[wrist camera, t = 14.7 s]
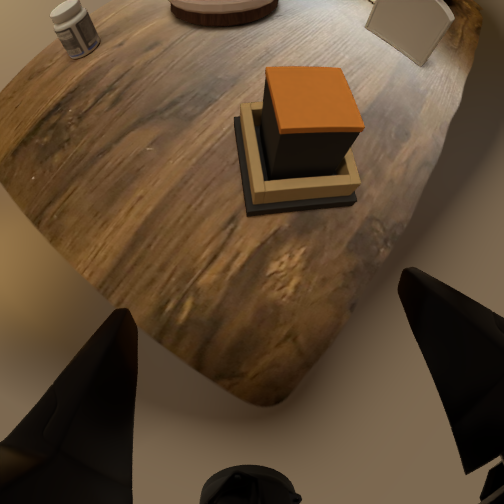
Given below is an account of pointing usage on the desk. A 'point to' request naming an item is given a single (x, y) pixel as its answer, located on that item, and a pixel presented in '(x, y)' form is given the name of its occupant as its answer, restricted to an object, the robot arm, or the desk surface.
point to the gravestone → (411, 25)
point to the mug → (221, 11)
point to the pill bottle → (74, 28)
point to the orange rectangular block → (307, 121)
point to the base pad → (287, 190)
